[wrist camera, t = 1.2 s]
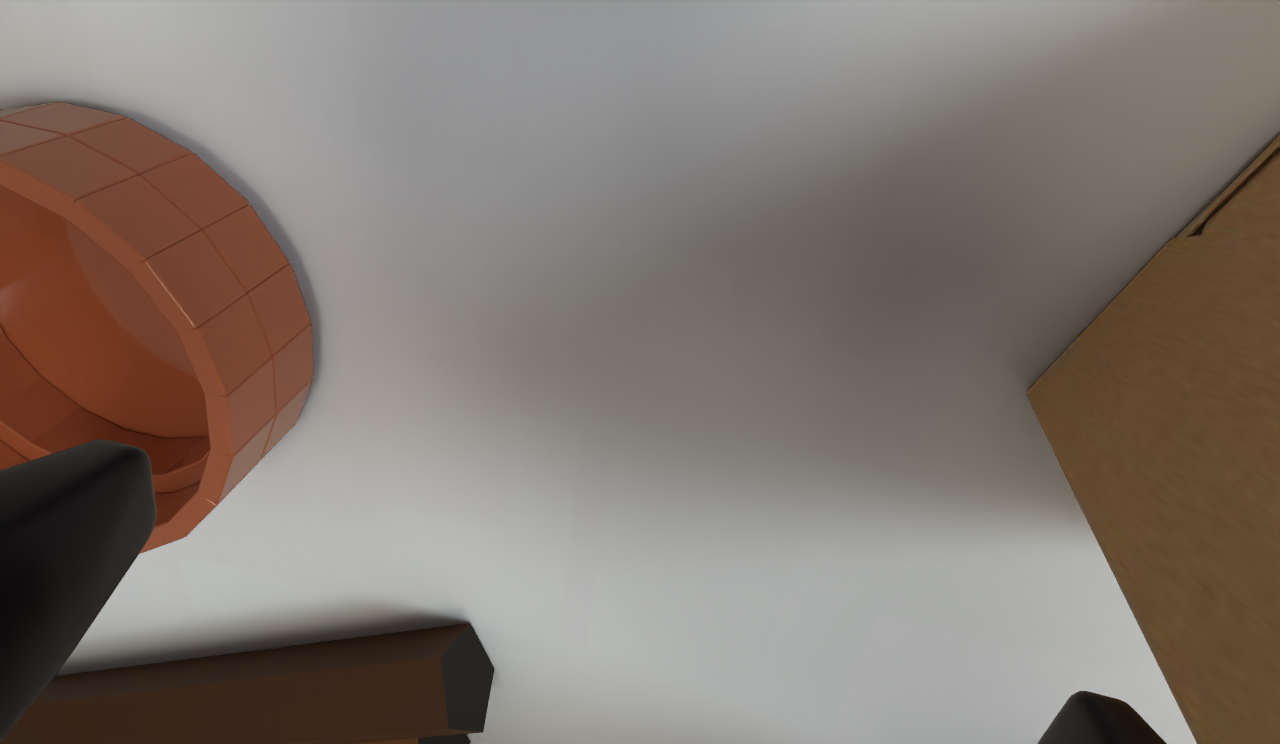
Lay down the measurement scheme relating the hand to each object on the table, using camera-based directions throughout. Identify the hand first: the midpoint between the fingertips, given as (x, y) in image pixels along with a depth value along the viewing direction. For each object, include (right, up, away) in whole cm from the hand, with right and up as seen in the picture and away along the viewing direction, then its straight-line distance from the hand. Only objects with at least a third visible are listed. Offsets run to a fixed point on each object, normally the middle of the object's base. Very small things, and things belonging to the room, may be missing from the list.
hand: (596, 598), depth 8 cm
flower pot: (-14, +4, +16) cm, 22 cm away
